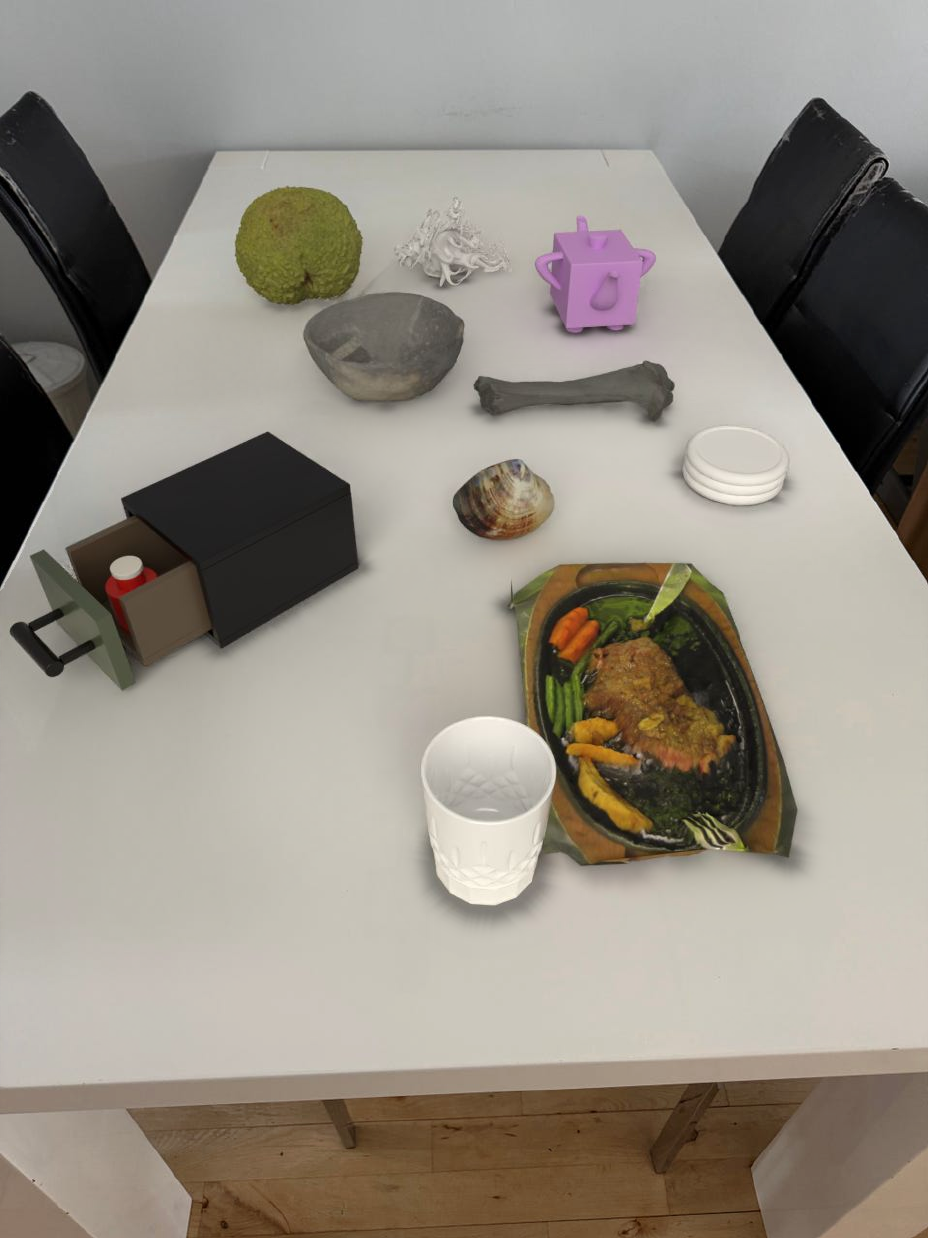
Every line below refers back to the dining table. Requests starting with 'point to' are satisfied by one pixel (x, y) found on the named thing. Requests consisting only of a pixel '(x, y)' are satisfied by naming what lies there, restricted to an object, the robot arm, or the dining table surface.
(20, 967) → the dining table surface
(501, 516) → the seashell
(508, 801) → the white cup
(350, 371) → the bowl
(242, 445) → the cabinet
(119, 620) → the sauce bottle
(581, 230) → the teapot
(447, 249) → the figurine
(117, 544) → the drawer
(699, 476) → the white round flat stack
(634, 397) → the bone
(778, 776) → the prepared meal
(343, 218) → the fruit
